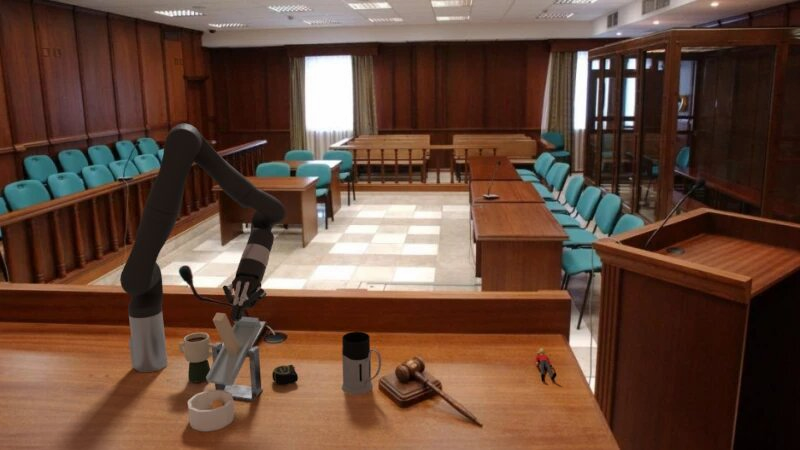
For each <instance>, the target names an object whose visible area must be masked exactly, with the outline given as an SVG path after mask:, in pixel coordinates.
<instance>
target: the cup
mask: <svg viewBox="0 0 800 450" xmlns="http://www.w3.org/2000/svg"><path fill="white" fill-rule="evenodd" d="M216 400H220V401H221V402H222V403H223V406H221V407H218V408H216V409H213V410H212V409H211V405H212V403H213V402H214V401H216ZM234 407H235V405H234V399H233V398H232V394H231V393H229V392H227V391H224V390H215V389H209V390H204V391H202V392H198V393H196V394H193V396H192V397H191V398H189V399H188V400H187V409H188V421H189V426H190V427H191V429H193V430H194V431H197V432H202V433H203V432H205V433H206V432H214V431H218V430H221V429H223V428H226V427H228V426H230V424H231V423H233V421H234V419H235V408H234Z"/></svg>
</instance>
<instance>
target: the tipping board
mask: <svg viewBox="0 0 800 450" xmlns="http://www.w3.org/2000/svg"><path fill="white" fill-rule="evenodd" d="M212 321H213V324H214V326H215V328H216V331H217V332H218V333H217V334H218V335H219V337H220V339H221V341H222V348H221V350H220V352H219V354H218V356H217V358H216V360H215V361H214V363H213V362H212V365H211V367H210V371H209V373H208V374H207V376H206V381H207V383H209V384H215V383H216V384H224V385H233V384H234V382H235V381H236V379H237V377H238V375H239V373H240V371H241V368H242V367H243V364H244V362H245V361H246V359H247V358H249V350H250V349H251V348H252V347H253V344H254V343H255V341H256V338H257V336H258V334H259V332H260V330H261V328H262V324H261V322H260V320H259V318H258V317H249V316H242V318H241V320H239V321H233V323H234V324H233V326H232V324H231V323H230V320H229V317H228V316H227V314H226V313H223V312H216V313H215V315H214V317H213V318H212Z"/></svg>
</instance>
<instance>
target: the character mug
mask: <svg viewBox="0 0 800 450" xmlns="http://www.w3.org/2000/svg"><path fill="white" fill-rule="evenodd" d="M214 344H215V343H211V340H210V335H209V334H208V333H206V332H193V333H189V334H187V335H185V336H184V338H183V341H181V342H178V348H179V353H181V354H184V358H185V360H186V362H189V364H188V376H187V377H188V380H189V381H190V382H192V383H201V382H204V381H207V379H206V376H207V374H208V373H209V371H210V369H211V367H210V362H209V361H208V360H209V358H210V356H211V355H212V346H213V345H214ZM212 356H213V355H212Z"/></svg>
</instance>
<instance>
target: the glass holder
mask: <svg viewBox="0 0 800 450" xmlns="http://www.w3.org/2000/svg"><path fill="white" fill-rule="evenodd" d="M341 340H342V348H341V353H342V355H341V356H342V357H341V358H342V384H341V390H342V392H344V393H346V394H348V395H349V394H350V395H363V394H366V393H369V392H370V391H372V390H373V387H374V385H373V383H372V380H375V378H376V377H377V376H378V375H379V374H380V372H381V369H382V368H381V366H382V357H381V356H382V355H381V353H380V352H379V351H378V350H377V349H375V348H372V349H370V348H371V346H370V345H371V344H370V343H371V342H370V341H371V340H370V335H369V334H368V333H366V332H363V331H352V332H347V333H345V334H344V335H343V336H342V339H341ZM372 352H375V354H376V355H377V358H378V365H377V366H378V368H377V371H376V373H375V375H373V377H372V364H371V363H372V360H371V359H372Z"/></svg>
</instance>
